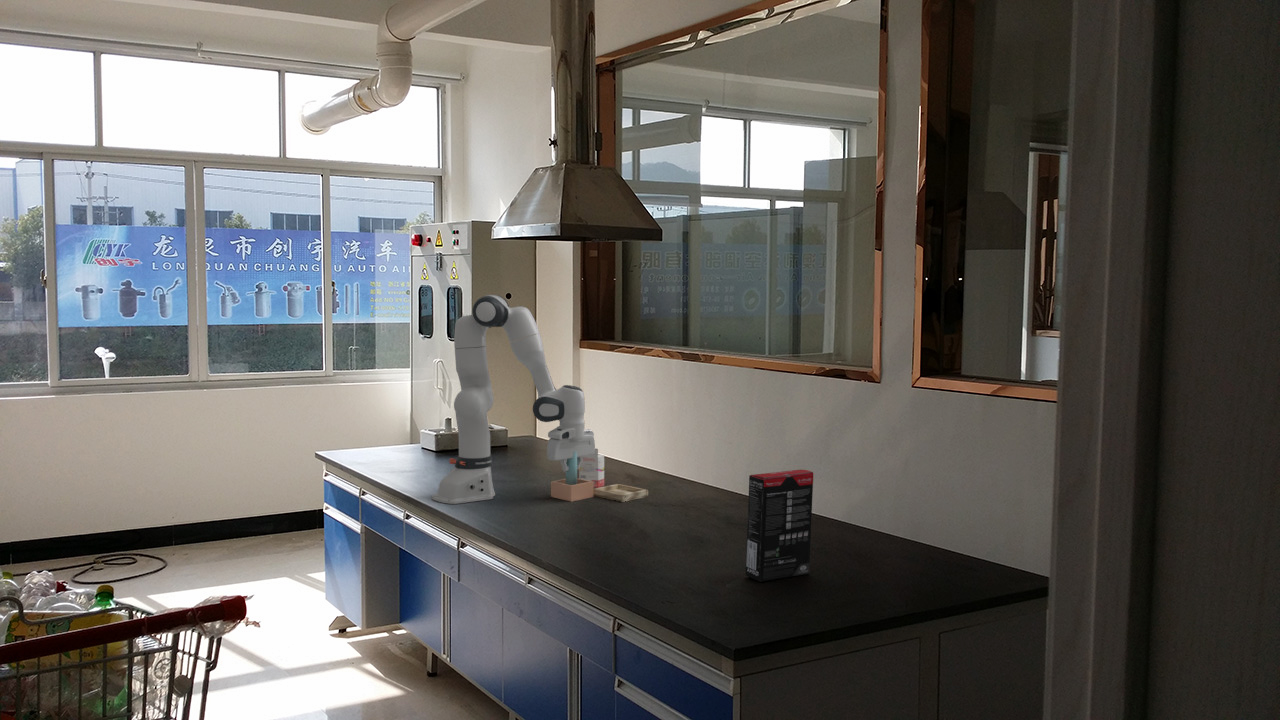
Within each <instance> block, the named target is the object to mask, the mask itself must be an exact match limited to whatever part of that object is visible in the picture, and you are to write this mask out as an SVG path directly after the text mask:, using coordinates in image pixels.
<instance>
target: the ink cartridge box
mask: <svg viewBox="0 0 1280 720" xmlns="http://www.w3.org/2000/svg"><path fill="white" fill-rule="evenodd" d="M578 478H579V479H583V480H588V481H593V482H594V489H595V488H600V487H605V455H604V454H599V449H598V448H595V453H594V455H589V456H583V460H582V462H581V464H580V469H578Z"/></svg>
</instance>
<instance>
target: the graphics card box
mask: <svg viewBox="0 0 1280 720" xmlns="http://www.w3.org/2000/svg"><path fill="white" fill-rule="evenodd" d="M748 477H749V479H748V503H747V508H748V509H747V526H746V527H747V528H746V529H747V530H746V531H747V532H746V536H747V537H746V552H745V553H746V556H745V559H746V560H745V576H746V577H748V578H751V579H752V580H755V581H757V582H759V583H762V582H767V581H773V580H779V579H786V578H792V577H795V576H796V577H797V576H803V575H807V574H809V573H810V566H811V565H810V562H811V560H810V559H811V539H812V537H811V535H812V517H813V514H812V513H813V494H814V492H813V489H814V471H811V470H807V469H793V470H784V471H777V472H774V471H773V472H766V473H755V474H749V475H748Z"/></svg>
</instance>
